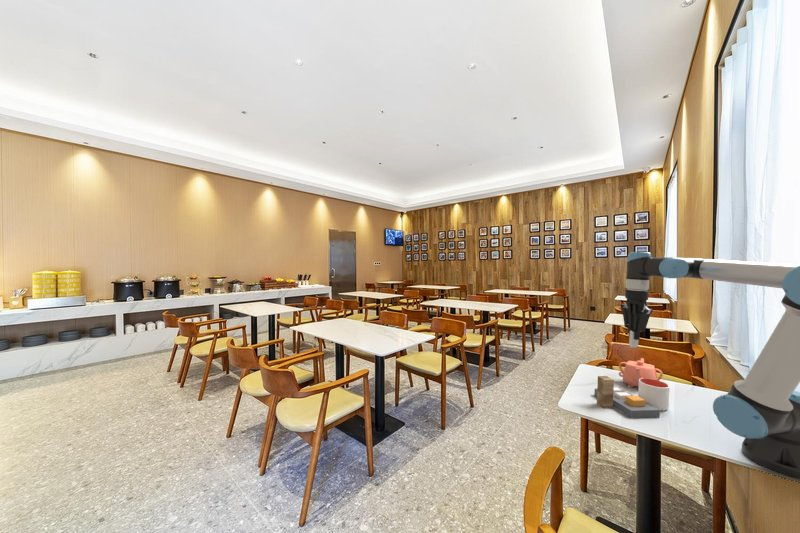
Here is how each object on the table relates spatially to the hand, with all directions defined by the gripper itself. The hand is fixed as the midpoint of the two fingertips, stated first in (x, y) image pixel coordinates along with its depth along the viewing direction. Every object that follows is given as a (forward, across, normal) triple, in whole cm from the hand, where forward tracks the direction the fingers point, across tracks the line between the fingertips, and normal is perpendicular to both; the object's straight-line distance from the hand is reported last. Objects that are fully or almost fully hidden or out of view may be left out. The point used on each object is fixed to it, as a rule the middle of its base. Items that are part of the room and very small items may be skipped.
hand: (633, 346), depth 125 cm
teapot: (+27, +21, -24) cm, 42 cm away
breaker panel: (+26, +3, 0) cm, 26 cm away
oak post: (+26, +3, +9) cm, 28 cm away
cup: (+27, +2, -12) cm, 29 cm away
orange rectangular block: (+24, -2, 0) cm, 24 cm away
